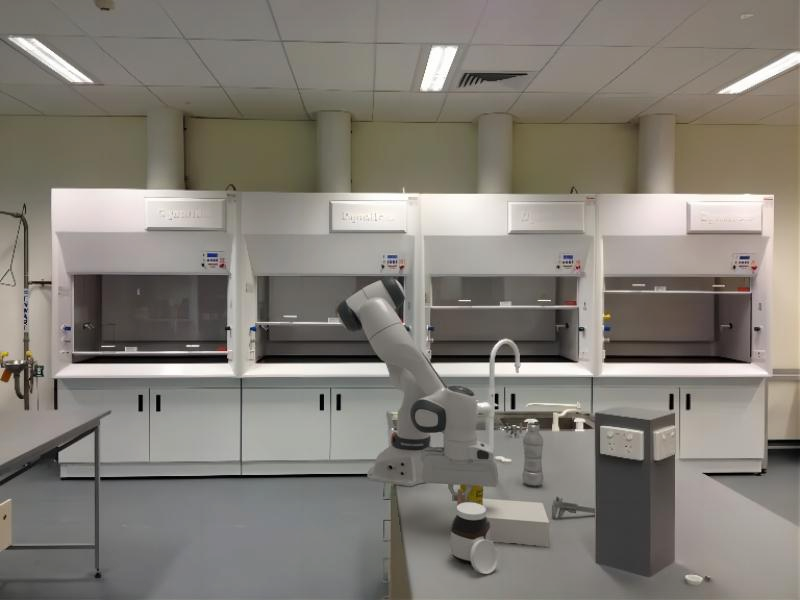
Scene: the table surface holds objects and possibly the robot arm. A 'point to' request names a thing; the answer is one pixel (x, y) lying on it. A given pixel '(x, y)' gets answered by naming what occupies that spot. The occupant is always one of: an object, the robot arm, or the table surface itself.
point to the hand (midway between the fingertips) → (459, 500)
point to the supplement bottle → (474, 494)
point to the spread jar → (473, 538)
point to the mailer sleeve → (517, 522)
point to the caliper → (568, 507)
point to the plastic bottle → (533, 456)
